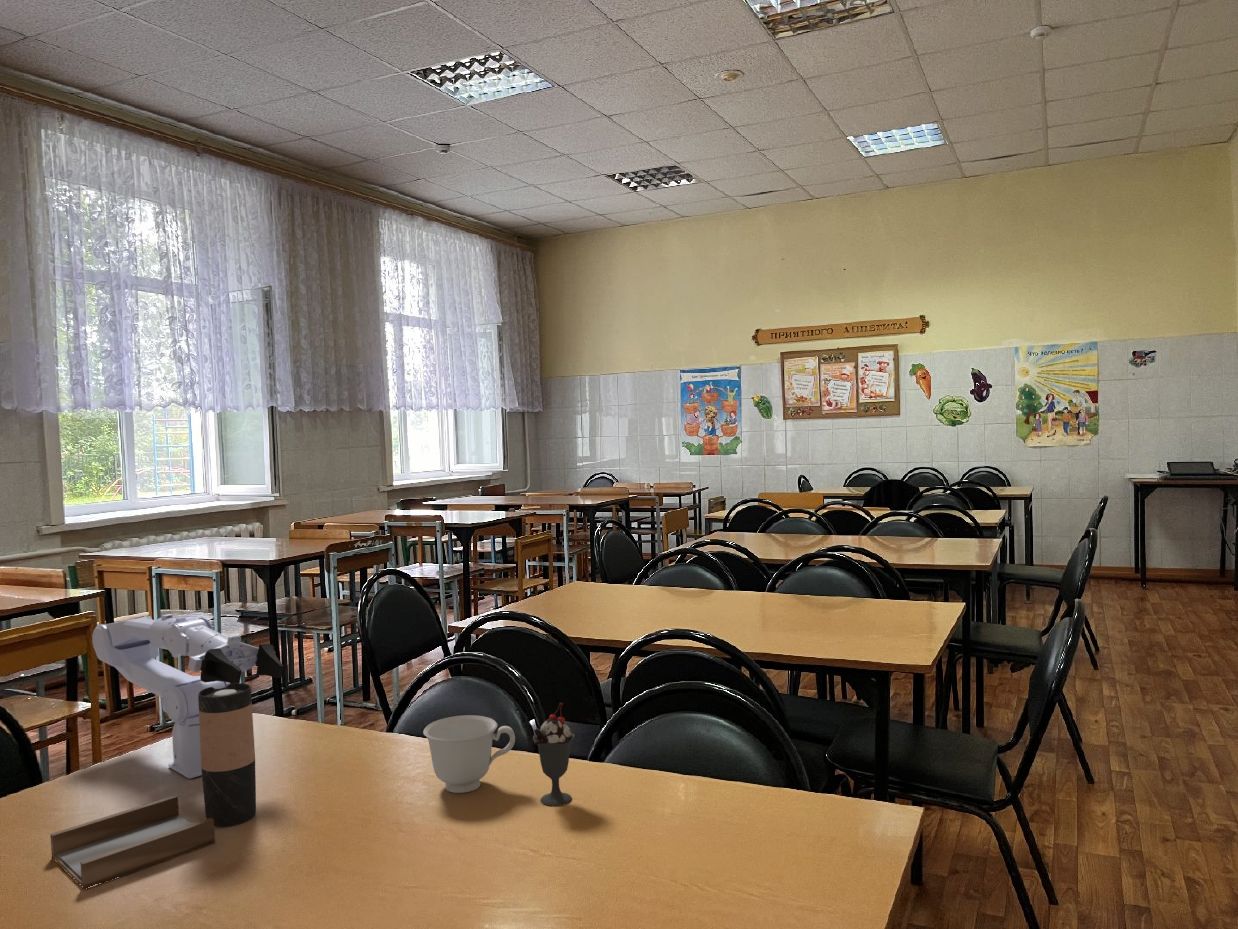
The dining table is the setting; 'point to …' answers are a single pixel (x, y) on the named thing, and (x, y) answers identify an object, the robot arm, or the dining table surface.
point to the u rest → (128, 842)
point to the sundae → (554, 755)
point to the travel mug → (227, 754)
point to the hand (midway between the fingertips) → (260, 674)
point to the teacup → (464, 749)
